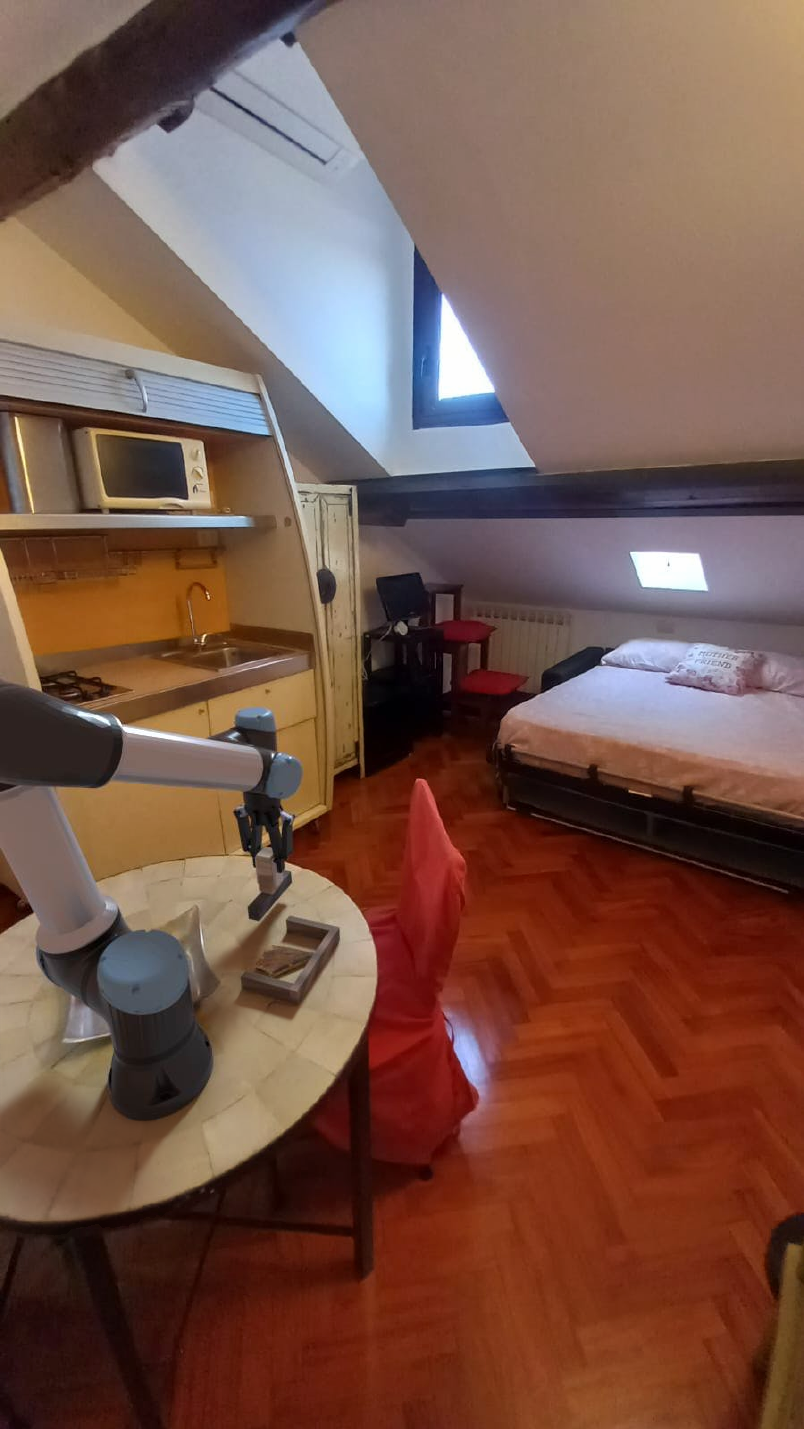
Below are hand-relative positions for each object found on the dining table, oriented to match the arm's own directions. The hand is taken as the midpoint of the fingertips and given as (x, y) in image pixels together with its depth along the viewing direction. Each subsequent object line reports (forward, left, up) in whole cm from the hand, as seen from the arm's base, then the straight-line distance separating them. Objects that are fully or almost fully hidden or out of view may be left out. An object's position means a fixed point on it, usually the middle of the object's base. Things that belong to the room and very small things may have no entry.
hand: (270, 881), depth 127 cm
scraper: (0, 0, -4) cm, 4 cm away
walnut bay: (-12, -12, -8) cm, 19 cm away
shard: (-12, -9, -9) cm, 17 cm away
